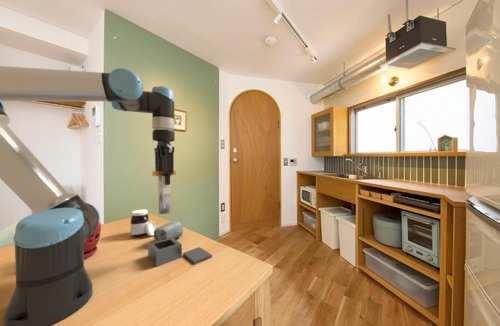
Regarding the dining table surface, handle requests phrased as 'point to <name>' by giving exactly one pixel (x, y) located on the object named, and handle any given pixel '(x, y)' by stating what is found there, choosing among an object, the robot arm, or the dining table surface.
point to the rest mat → (197, 255)
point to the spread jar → (141, 224)
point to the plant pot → (92, 242)
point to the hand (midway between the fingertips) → (164, 192)
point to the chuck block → (164, 251)
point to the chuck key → (163, 198)
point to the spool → (168, 231)
